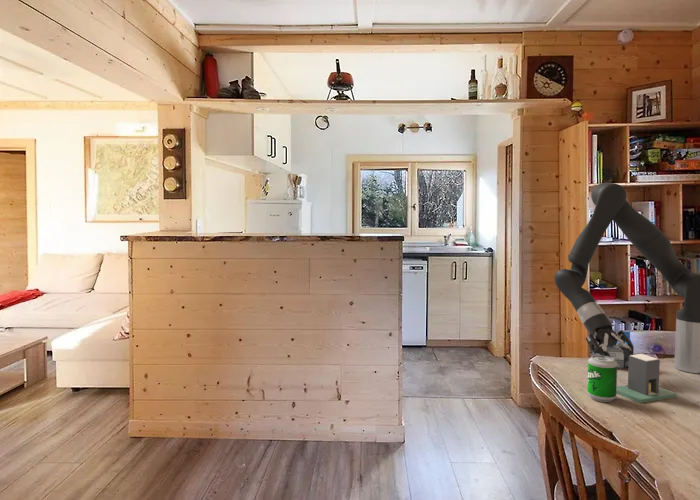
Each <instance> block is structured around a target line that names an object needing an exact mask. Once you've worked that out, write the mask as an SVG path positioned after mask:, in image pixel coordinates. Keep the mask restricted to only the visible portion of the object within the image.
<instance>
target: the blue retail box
mask: <svg viewBox="0 0 700 500" xmlns="http://www.w3.org/2000/svg"><path fill="white" fill-rule="evenodd" d="M613 331H614V332H619V331H620V330H613ZM622 331H623V332H624V334H625V335H626V336H627V338H628V339H629V340H630V342H631V343H632V345H633V346H632V347H631V348H630V351H631V352H632V354H633V355H634V349H635V348H634V347H635V346H634V344H633V342H632V340H631V331H625V330H622ZM617 343H619V342H618V341H617ZM625 343H626V344H627V342H625ZM627 345H628V344H627ZM621 347H623V346H622V345H621ZM623 348H624V347H623ZM606 352H608V353H609V355H610V356H611V358H613V359H614V360H615V361H616V362H617V369H628V368H629V362H628V360H627V359H626V357H625V356H624V354H623V352H622V351H621V350H620V349H618V348H615V347H607V349H606Z"/></svg>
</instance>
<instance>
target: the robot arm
mask: <svg viewBox="0 0 700 500" xmlns="http://www.w3.org/2000/svg"><path fill="white" fill-rule="evenodd" d="M590 195H591V197H590V198H591V201H592V204H594V210H593V213H592V215H591V217H590V219H589V221H588V223H587V224H586V226H585V227H584V228H583V230H582V231H581V232H580V234H579V235H578V236H577V238H576V240H575V241H574V244H573V245H572V247H571V249H570V252H569V254H568V258H567V260H568V261H569V263H571V266H570V269H565V268H561V269H559V270H558V271H556V272H555V274H554V277H553V279H554V284H555V286H556V287H557V289H558V290H559V291H560V292H561V294H563V296H564V297H566V299H567V300H568V301H570V303H571V305H572V307H573V309H574V310H575V312H576V313H577V315H578V318H579V319H580V321H581V323H582V324H583V326H584V327H585V329H586V331H587V333H588V335H587V336H586V337H585V341H586V342H587V344H588V345H589V348H590V349H591V351H592V353H593V354H594V355H596V354H597V355H602V356H608V357H611V356H610V355H609V353H608V352H606V349H607V347H615V348H618V349H620V350H621V351H622V352H623V354H624V356H625V357H626V359H627V360H628V362H629V356H630V355H634V353H633V354H632V352H631V351H630V348H631V347H632V346H634V344H633V342H632V341H631V342H632V343H631V342H630V340H631V339H630V340H629V339H628V338H627V336H626V335H625V334H624V332H623V331H624V330H621V329H620V330H618V331H619V332H614V331H615V330H614V329H613V323H612V322H611V320H610V319H609V318H608V316H607V314H606V313H605V312H604V310H603V309H602V307H601V306H600V305H599V304H598V302H597V301H596V299H595V298H594V297H593V295H592V293H591V292H590V291H589V290H587V289H585V288H583V286H584V284H585V283H586V280H587V275H588V271H589V265H590V263H591V261H592V258H593V256H594V254H595V252H596V251H597V248H598V246H599V244H600V242H601V240H602V238H603V237H604V234H605V232H606V231H607V229H608V227H609V226H610V224H611V222H612V221H613V222H614V223H615V224H616V226H617V227H618V228H619V230H620V231H621V232H622V233H623V235H625V237H626V238H627V240H629V242H630V243H631V244H632V245H633V247H634V248H635V249H637V251H638V252H639V253H640V254H641V255H642V256H643V257H644V258H645V259H646V260H647V261H648V262H649V263H650V264H651V265H652V266H653V267H654V268H655V269H656V270H657V271H658V272H659V273H660V274H661V275H662V276H663V278H664V279H665V280H666V282H667V284H669V286H670V287H671V289H672V290H673V292H674V293H675V294H677V295H678V296H679V297H681V298H684V301H683V307H682V308H681V309H680V308H679V309H678V310H677V311H676V317H675V319H676V320H675V339H674V340H675V343H674V368H675V369H677V370H679V371H682V372H685V373H690V374H691V373H692V374H700V273H696V272H693V271H692V270H690V269H689V268H688V267H687V266H685V265H684V263H683V262H681V260H680V259H679V258H678V257H677V255H676V252H675V249H674V246H673V244H672V243H671V241H670V240H669V238H668V237H667V236H666V235H665V234H664V232H662V231H661V230H660V228H659V227H658V226H656V225H655V224H654V223H653V222H652V221H651V220H649V219H648V218H647V217H645V216H644V215H642V214H641V213H640V212H638V211H637V210H636V209H635V208H634V207H632V205H631V204H630V203H629V202H628V200H627V191H626V189H625V188H624V186H622V185H621V184H619V183H614V182H607V181H605V182H601V183H598V184H596V185H595V186H594V187H593V188H592V190H591V194H590ZM617 341H618V342H619V343H617ZM625 342H627V344H628V345H627V344H626V343H625ZM632 344H633V345H632ZM621 345H622V346H623V347H624V348H623V347H621Z"/></svg>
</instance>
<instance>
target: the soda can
mask: <svg viewBox="0 0 700 500" xmlns="http://www.w3.org/2000/svg"><path fill="white" fill-rule="evenodd" d="M617 380H618V368H617V362H616V361H615V360H614V359H613V358H611V357H608V356H602V355H599V354H597V355H596V354H594V355H592V356H590V358H588V360H587V392H586V393H587V395H588V396H589V397H590V398H591V399H592V400H594V401H597V402H601V403H611V402H613V401H614V400H615V399H617V393H616V387H618V386H617V385H618V383H617V382H618V381H617Z"/></svg>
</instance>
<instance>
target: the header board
mask: <svg viewBox="0 0 700 500" xmlns="http://www.w3.org/2000/svg"><path fill="white" fill-rule="evenodd" d="M616 395H620V396H623V397H625V398H626V399H629V400H631V401H634V402H636V403H638V404H643V403H649V402H655V401H660V400H661V401H662V400H667V399H672V398H677V396H678V395H677V393H676V392H673V391H671V390H668V389H665V388H663V387H660V386H659V393H654V392H651V383H650V382H649V387H648V395H644V394H641V393H639V392H636V391H634V390H631V389H629V388H628V384H627V385H626V384H625V385H619V386H617V387H616Z"/></svg>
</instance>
